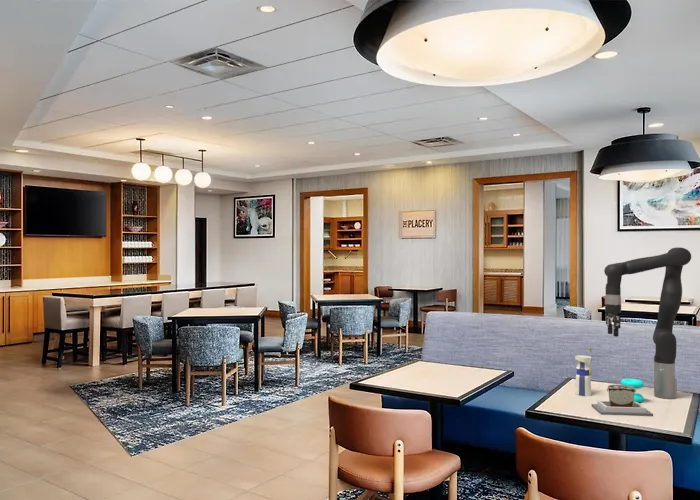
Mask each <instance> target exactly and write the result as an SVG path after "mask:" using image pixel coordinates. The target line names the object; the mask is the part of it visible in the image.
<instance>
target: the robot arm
mask: <svg viewBox="0 0 700 500" xmlns="http://www.w3.org/2000/svg"><path fill="white" fill-rule="evenodd" d="M691 259H692V253H691V251H690V250H689V249H687V248H684V247H677V246H676V247H672V248H670V249H668V251H667V252H665V253H663V254H658V255H653V256H652V255H651V256H645V257H640V258H634V259H630V260H626V261H622V262H616V263H610V264H608V265H606V266H605V268H604V270H603V272H604V275H605V276H606V277H607V279H606V284H605V297H604V312H605V313H606V314H605V325H606V326H607V334H608V335H613V336H614V337H619V329H621V316H620V315H618V314H621V313H622V296H621V294H622V293H621V291H622V290H621V285H622V276H624V275H634V274H638V273H645V272H647V271H652V270H655V269H656V270H657V269H660V268H661V269H662V268H665V270H664V271H665V273H664V277H663V278H664V279H663V282H662V287H661V293H660V297H659V305H658V306H659V307H658V311H657V312H658V314H657V321H656V325H655V329H654V331H653V334H652V340H653V343H654V344H655V353H654V355H653V374H654V375H653V396H654V397H656V398H659V399H677V398H678V395H677V394H678V383H677V381H678V379H677V378H676V357H677V338H676V336H675V335H674V333H673V327H674V321H675V319H676V316H677V315H678V312H679V310H680V307H681V304H682V298H683V286H682V285H683V284H682V272H683V267H684V266H686V265H688V264H689V263H690V261H691Z"/></svg>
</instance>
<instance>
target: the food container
mask: <svg viewBox="0 0 700 500" xmlns="http://www.w3.org/2000/svg"><path fill="white" fill-rule="evenodd" d="M606 392H608V401H610V407H633V403H634V394H635V393H637V389H635V388H634V387H631V386H626V385H622V384H609V385H607V388H606Z"/></svg>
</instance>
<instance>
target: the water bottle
mask: <svg viewBox="0 0 700 500" xmlns="http://www.w3.org/2000/svg"><path fill="white" fill-rule="evenodd" d="M588 350H589V351H588V353H593V351H592V350H593V348H592V347H591V346H589V348H588ZM574 360H576V363H577V364H576V367H575V369H576V375H575V391H574V395H577V396H579V397H591V396H592V377H591V376H592V369H591V366H590V363H592V360H593V359H592V356H590V355H586V354H585V355H583V354H576V355H575V356H574Z"/></svg>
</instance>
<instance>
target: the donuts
mask: <svg viewBox="0 0 700 500" xmlns="http://www.w3.org/2000/svg"><path fill="white" fill-rule="evenodd" d="M620 383H621V384H620V385H626V386H631V387H634V388H635V389H636V390H639V389H641V388H644V385H645V384H644V382H643V380H640V379H636V378H623V379H621V381H620ZM644 397H645V396H643V395H642V394H640V393H638V392H635V394H634V402H638V403H639V404H641V403H642V402H643V401H644V399H645V398H644Z"/></svg>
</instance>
